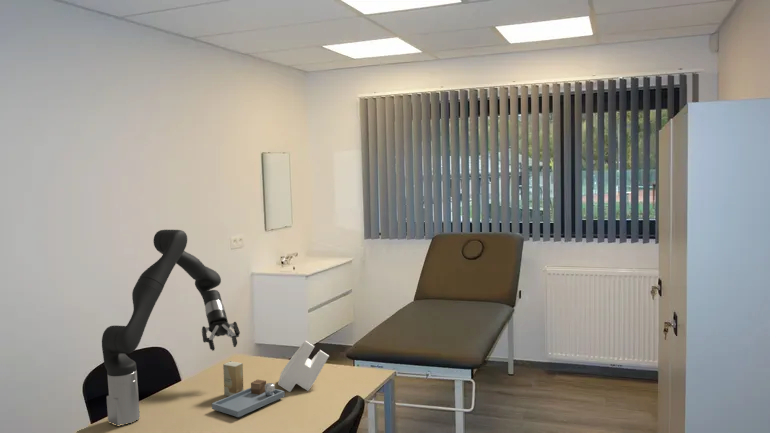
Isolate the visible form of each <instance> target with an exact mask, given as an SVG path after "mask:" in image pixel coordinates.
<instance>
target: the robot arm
mask: <svg viewBox="0 0 770 433" xmlns="http://www.w3.org/2000/svg"><path fill="white" fill-rule="evenodd" d="M187 245H188V235H187V233H186V231H184V230H183V229H160V230H158V231H156V233H155V234H154V237H153V246H154V248H155V249H156V250H157V251H158V252H159V253H160V254H161V257H159V259H157V261H155V262H154V263H153V264H151V265H150V266H149V267H148V268H146V270H144V271H143V272H142V273H141V275H140V276H139V277H138V280H137V281H136V282H135V285H134V287H133V289H132V292H131V294H132V295H131V296H132V305H133V306H132V307H133V311H132V314H131V317H130V319H129V321H128V323H127V324H126V325H110V326H108V327H106V329H105V330H104V331H103V333H102V337H101V349H102V357H103V358H102V359H103V365H104V367H105V369H106V371H107V372H106V374H107V386H108V387H107V388H108V395H106V407H107V408H106V410H107V411H106V412H107V420H108V421H109V422H111V423H114V424H116V425H120V424H126V423H131V422H133V421H136V420H138V419H139V417H140V418H141V416H140V400H139V399H140V398H139V386H138V383H139V382H138V371H137V370H138V369H137V362H136V361H135V360H133V359H131V357H129V356H128V354H131V353H134V352H135V350H136V349H137V348H138V346H139V344H140V342H141V339H142V337H143V335H144V333H145V329H146V327H147V324H148V321H149V318H150V316H151V314H152V312H153V310H154V308H155V305H156V303H157V301H158V300H159V298H160V296H161V293H162V292H163V290H164V287H165V285H166V283H167V280H168V279H169V277H170V275H171V273H172V271H173V269H174V268H175V266H176V265H178V266H179V267H180V268H181V269H183V270H184V271H185V273H187V274H188V276H189V277H191V278H192V279H193V280H194V285H195V287H196V289H197V291H198V292H199V294H200V295H201V298H202V301H203V303H204V310H205V315H206V316H205V317H206V320H207V323H208V326H207V327H206V326H204V325H203V326H202V327H201V335H202V341H203V343H208V345H209V349H210V350H211V351H212V352H214V351H215V348H216V347H215V344H214V339H215V337H221V336H223V337H225V336H227V337H229V338H230V339H231V342H232V345H233V348H236V347H237V346H238V340H237V338H239V337H240V334H241V332H240V329H239V326H238V323H237V321H234V322H233V323H229V322H228V316H227V313H226V309H225V307H224V304H223V300H222V296H221V294H220V292H219V290H216V289H214V288H217V287H218V286H220V285H221V283H222V279H221V278H222V277H221V276H220V274H219V273H218V272H217V271H216V270H214V269H212V268H210V267H208V266H206V265H205V264H204V263H203V262H202V261H201V260H200V259H199V258H197V257H196V256H195V255H193V254H191V253H189V252H187V251H185V250H186V248H187ZM230 328H231V329H230ZM208 331H209V332H210V336H209V337H208V336H207V333H208ZM139 420H140V419H139ZM139 420H138V421H139ZM136 422H137V421H136ZM131 424H132V423H131Z"/></svg>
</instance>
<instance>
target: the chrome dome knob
mask: <svg viewBox="0 0 770 433" xmlns="http://www.w3.org/2000/svg"><path fill="white" fill-rule="evenodd" d="M275 389H276V387H275V383H274V382H268V383H267V382H266V384H265V396H266V397H270V396H272V395H274V394H275Z"/></svg>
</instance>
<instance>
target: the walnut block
mask: <svg viewBox="0 0 770 433" xmlns="http://www.w3.org/2000/svg"><path fill="white" fill-rule="evenodd" d="M265 384H267V380H264V379H263V380H262V379H256V380H254V381H252V382H250V388H251V393H252V394H258V395H260V394H262V393H264V392H265Z"/></svg>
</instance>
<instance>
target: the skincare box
mask: <svg viewBox="0 0 770 433" xmlns="http://www.w3.org/2000/svg"><path fill="white" fill-rule="evenodd" d="M243 367H244V364H243V362H238V361H229V362H226V363H224V364H223V367H222V368H223V388H224V389H223V392H224V394H223V395H224V396H227V397H229V396H231V395H234V394H236V393H238V392H241V391H243V390H244V368H243Z"/></svg>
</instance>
